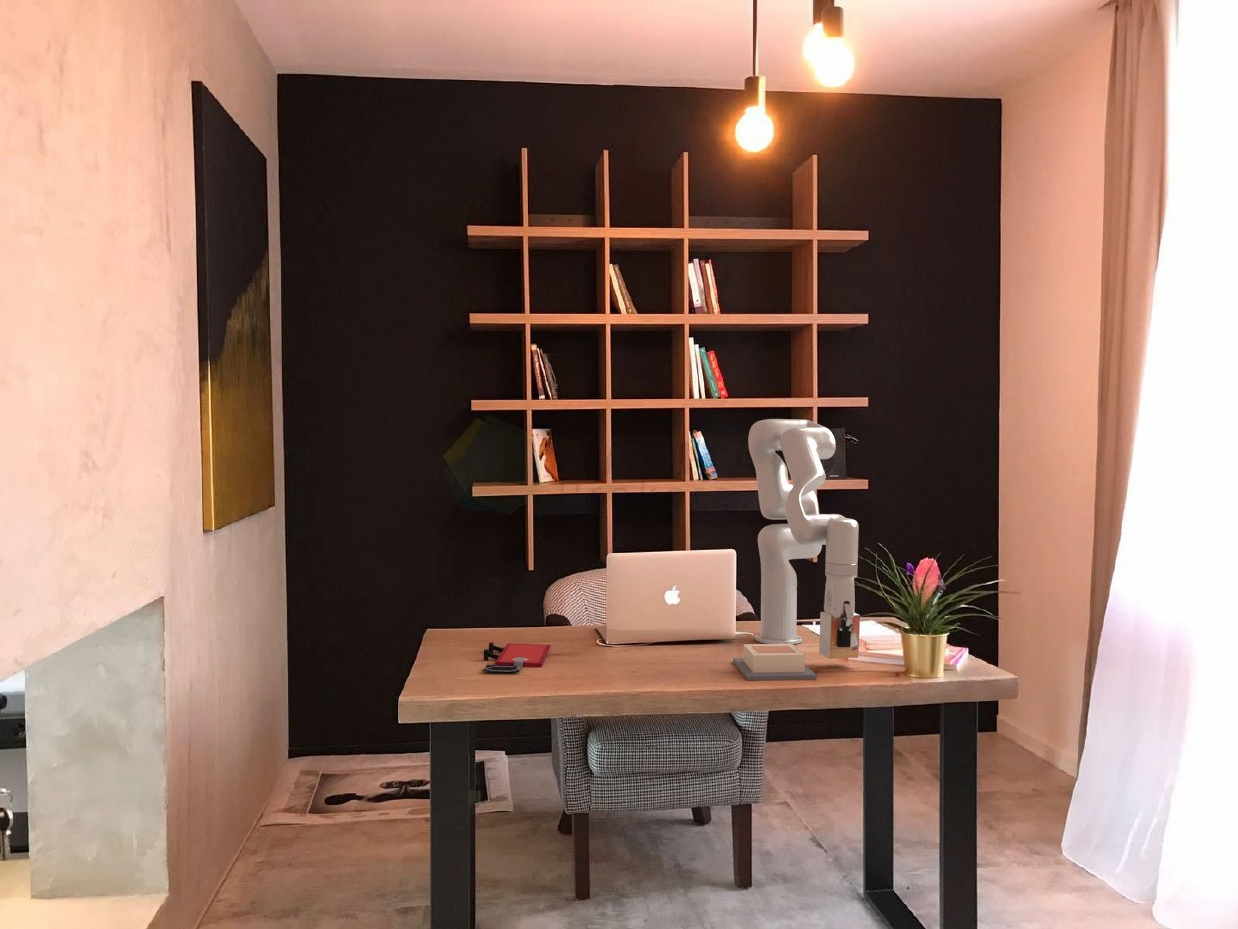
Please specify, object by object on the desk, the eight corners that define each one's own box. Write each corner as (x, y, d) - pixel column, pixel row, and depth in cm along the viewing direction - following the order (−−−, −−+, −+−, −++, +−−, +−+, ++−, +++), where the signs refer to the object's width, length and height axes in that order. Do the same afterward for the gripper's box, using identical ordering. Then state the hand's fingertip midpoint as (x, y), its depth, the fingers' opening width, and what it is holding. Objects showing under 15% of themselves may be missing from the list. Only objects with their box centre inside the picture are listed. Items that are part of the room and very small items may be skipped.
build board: (732, 662, 248) (733, 641, 248) (796, 661, 250) (797, 640, 249) (747, 680, 230) (747, 658, 230) (816, 679, 232) (816, 657, 231)
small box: (829, 659, 240) (830, 616, 240) (818, 654, 246) (819, 611, 245) (859, 658, 242) (860, 614, 242) (848, 652, 248) (849, 609, 247)
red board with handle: (474, 674, 235) (538, 676, 235) (474, 662, 235) (538, 664, 235) (493, 648, 265) (550, 650, 265) (493, 637, 265) (550, 639, 265)
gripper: (816, 563, 251) (814, 635, 252) (836, 576, 234) (834, 652, 235) (845, 563, 252) (843, 635, 253) (868, 576, 234) (865, 652, 235)
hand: (839, 642), depth 244 cm, fingers closed on small box, 6 cm apart
